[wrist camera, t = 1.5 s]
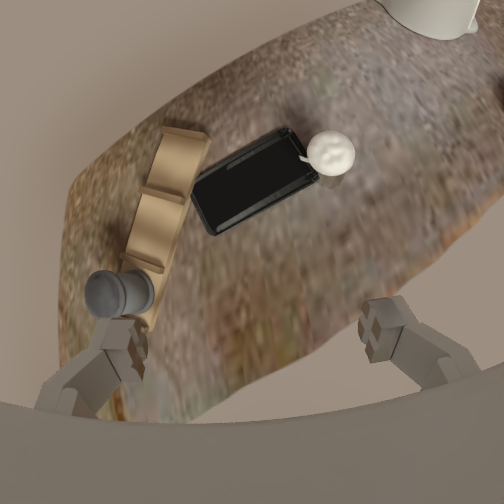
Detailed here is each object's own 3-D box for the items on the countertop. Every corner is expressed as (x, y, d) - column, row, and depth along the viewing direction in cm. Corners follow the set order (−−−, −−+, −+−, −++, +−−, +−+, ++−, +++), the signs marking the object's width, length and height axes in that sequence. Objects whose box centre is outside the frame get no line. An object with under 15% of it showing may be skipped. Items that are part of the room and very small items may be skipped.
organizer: (170, 132, 41) (161, 125, 38) (211, 140, 40) (204, 132, 37) (116, 312, 42) (105, 314, 39) (153, 330, 40) (143, 334, 38)
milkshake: (298, 168, 37) (289, 136, 27) (339, 152, 36) (343, 116, 26) (312, 202, 37) (309, 180, 27) (354, 186, 36) (365, 159, 26)
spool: (124, 263, 40) (90, 263, 33) (159, 278, 39) (128, 280, 32) (114, 304, 40) (80, 310, 33) (148, 321, 39) (117, 330, 32)
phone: (322, 177, 36) (210, 239, 38) (322, 179, 37) (213, 239, 39) (288, 124, 37) (184, 184, 39) (289, 127, 38) (187, 186, 40)
